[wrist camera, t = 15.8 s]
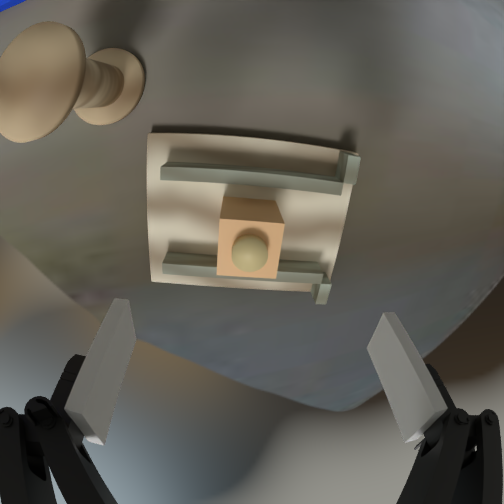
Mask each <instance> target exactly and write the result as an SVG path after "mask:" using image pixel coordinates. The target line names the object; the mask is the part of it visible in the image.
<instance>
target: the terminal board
mask: <svg viewBox="0 0 504 504" xmlns="http://www.w3.org/2000/svg"><path fill="white" fill-rule="evenodd" d="M360 159H361V157H359V156H358V153H356V152H353V151H348V150H342V149H337V148H331V147H325V146H319V145H313V144H306V143H299V142H292V141H284V140H276V139H267V138H258V137H247V136H235V135H221V134H203V133H168V132H151V133H148V140H147V216H148V239H149V255H150V269H151V280H152V281H153V282H165V283H176V284H189V285H202V286H216V287H231V288H247V289H265V290H284V291H307V292H311V293H312V296H313V299H314V301H315V304H326V302H327V299H328V295H329V292H330V288H331V285H332V284H331V282H330V279H331V275H332V271H333V267H334V264H335V260H336V256H337V252H338V248H339V244H340V240H341V235H342V231H343V227H344V223H345V218H346V214H347V209H348V204H349V200H350V195H351V190H352V185H356V180H357V175H358V170H359V164H360ZM223 196H226V197H239V198H252V199H263V200H274V201H276V203H277V206H278V208H279V210H280V213H281V215H282V218H283V220H284V223H285V226H284V232H283V239H282V245H281V251H280V257H279V263H278V270H277V276H276V279H271V278H254V277H238V276H223V275H217V255H218V237H219V220H220V213H221V207H222V201H223Z"/></svg>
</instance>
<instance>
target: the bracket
mask: <svg viewBox="0 0 504 504" xmlns="http://www.w3.org/2000/svg"><path fill="white" fill-rule="evenodd" d="M24 1H25V0H0V12H1V11H3V10H6V9H8V8H10V7H12V6H14V5H17V4H19V3H21V2H24Z"/></svg>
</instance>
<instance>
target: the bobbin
mask: <svg viewBox="0 0 504 504" xmlns="http://www.w3.org/2000/svg"><path fill="white" fill-rule="evenodd" d="M144 86H145V73H144V69H143V67H142V64H141V63H140V61H139V60H138V59H137V57H135V56H134V55H133V54H131V53H130V52H128V51H125V50H123V49H119V48H107V49H103V50H100V51H98V52H96V53H94V54H92V55H91V56H89V57H88V58H86V54H85V49H84V45H83V43H82V40H81V39H80V37H79V35H78V34H77V33H76V32H75V31H74V30H73V29H72V28H70V27H68V26H66V25H63V24H60V23H57V22H50V21H47V22H41V23H37V24H35V25H33V26H30V27H29V28H27V29H25V30H24V31H23V32H21V33H20V34H19V35H18V36H17V37H16V38H15V39H14V40H13V41H12V42H11V43H10V44H9V45H8V47H7V48H6V50H5V51H4V53H3V54H2V56H1V58H0V133H1V134H2V135H3V136H4V137H6V138H7V139H9V140H11V141H14V142H19V143H22V142H29V141H32V140H36V139H40V138H42V137H45V136H47V135H48V134H50V133H52V132H53V131H54V130H55V129H57V128H58V127H59V126H60V125H61V124H62V123H63V121H64V120H65V119H66V118H67V117H68V115H69V114H70V112H71V111H72V109H74V110H75V112H76V113H77V115H78V116H79V117H80V118H81V119H83V120H84V121H86V122H88V123H90V124H94V125H105V124H111V123H115V122H117V121H120V120H121V119H123V118H125V117H126V116H127V115H128V114H130V113H131V112H132V111H133V109H134V108H135V107H136V106H137V104H138V103H139V101H140V99H141V97H142V94H143V91H144Z"/></svg>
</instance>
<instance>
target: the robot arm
mask: <svg viewBox="0 0 504 504" xmlns="http://www.w3.org/2000/svg"><path fill="white" fill-rule="evenodd" d="M135 342H136V335H135V330H134V325H133V320H132V315H131V310H130V304H129V300H126V299H117V298H115V299H114V301H113V303H112V304H111V306H110V308H109V310H108V312H107V314H106V316H105V318H104V320H103V322H102V324H101V326H100V328H99V330H98V333H97V334H96V337H95V338H94V341H93V343H92V345H91V347H90V349H89V351H88V353H87V355H86V356H81V355H77V354H75V355H74V356H73V357H72V358H71V359H70V360H69V361H68V363H67V364H66V367H65V369H64V372H63V373H62V375H61V377H60V380H59V381H58V384H57V386H56V388H55V390H54V393H53V395H52V397H51V400H49V399H47V398H46V397H42V396H37V397H34V398H32V399H30V400H29V401H28V402H27V404H26V406H25V409H24V411H25V414H18V413H17V412H16V411H15V410H14V409H12V408H11V407H4V408H2V409H0V497H1V503H2V504H57V502H56V499H55V494H54V490H53V485H52V481H51V476H50V471H49V467H50V469H51V472H52V474H53V476H54V478H55V481H56V482H57V485H58V487H59V489H60V491H61V493H62V495H63V497H64V499H65V501H66V503H67V504H118V503H117V502H116V500H115V499H114V497H113V496H112V494H111V492H110V491H109V489H108V488H107V486H106V485H105V483H104V481H103V480H102V478H101V476H100V474H99V473H98V471H97V469H96V467H95V465H94V464H93V462H92V460H91V458H90V456H89V454H88V452H87V451H86V449H85V447H84V445H83V443H82V441H83V438H84V436H85V437H86V439H87V440H88V441H90V442H93V443H96V444H101V445H105V442H106V438H107V434H108V430H109V426H110V422H111V419H112V415H113V412H114V408H115V405H116V401H117V398H118V395H119V391H120V388H121V385H122V381H123V378H124V375H125V372H126V369H127V366H128V363H129V359H130V357H131V354H132V351H133V348H134V345H135ZM367 350H368V352H369V355H370V357H371V359H372V362H373V364H374V366H375V369H376V371H377V374H378V376H379V378H380V381H381V383H382V386H383V388H384V391H385V393H386V395H387V398H388V400H389V403H390V406H391V408H392V411H393V413H394V416H395V418H396V421H397V424H398V426H399V429H400V432H401V435H402V437H403V440H404V443H406V442H410V441H413V440H417V439H418V438H419V437H420V436H421V435H422V434H423V433H424V436H425V438H424V439H423V440H422V441H421V442H420V443H419V444H418V445H417V446H416V447H415V448H414V449H415V450H416V449H417V448H418V447H420V449H419V452H418V454H417V457H416V460H415V463H414V465H413V468H412V470H411V472H410V475H409V477H408V479H407V482H406V484H405V486H404V488H403V491H402V493H401V495H400V497H399V499H398V501H397V503H396V504H502V490H503V489H502V488H503V469H502V448H501V437H500V427H499V420H498V416H497V415H496V413H495V412H494V411H492V410H490V409H486V410H484V411H483V412H482V413H481V414H480V415H468V414H467V412H466V411H464V410H463V409H459V408H456V407H455V405H454V403H453V401H452V399H451V397H450V395H449V393H448V391H447V389H446V388H445V386H444V385H443V382H442V380H440V376H439V375H438V373H437V371H436V370H435V369H434V368H433V367H432V366H431V365H430V364H424V362H423V360H422V358H421V356H420V355H419V353H418V351H417V349H416V348H415V346H414V344H413V342H412V341H411V339H410V337H409V336H408V334H407V332H406V331H405V329H404V327H403V326H402V324H401V322H400V321H399V319H398V317H397V316H396V314H395V312H392V313H383V314H382V317H381V319H380V321H379V323H378V325H377V328H376V330H375V332H374V334H373V336H372V338H371V340H370V343H369V345H368V347H367ZM475 446H477V451H475Z"/></svg>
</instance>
